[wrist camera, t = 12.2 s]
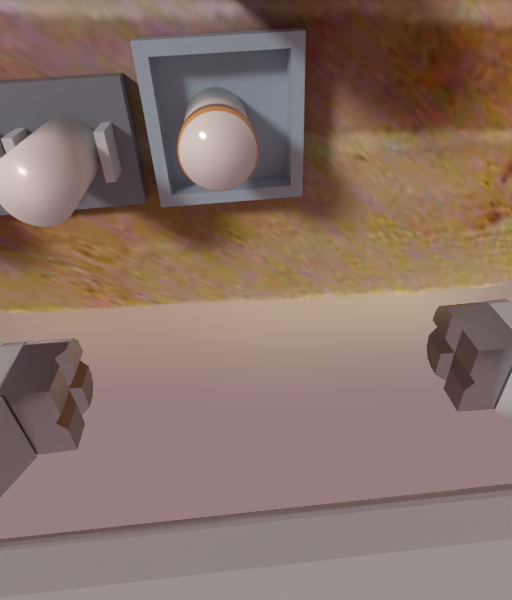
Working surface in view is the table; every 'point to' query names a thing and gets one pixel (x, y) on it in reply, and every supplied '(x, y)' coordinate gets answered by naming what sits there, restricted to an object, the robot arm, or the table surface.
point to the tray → (245, 85)
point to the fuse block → (67, 147)
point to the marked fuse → (217, 140)
